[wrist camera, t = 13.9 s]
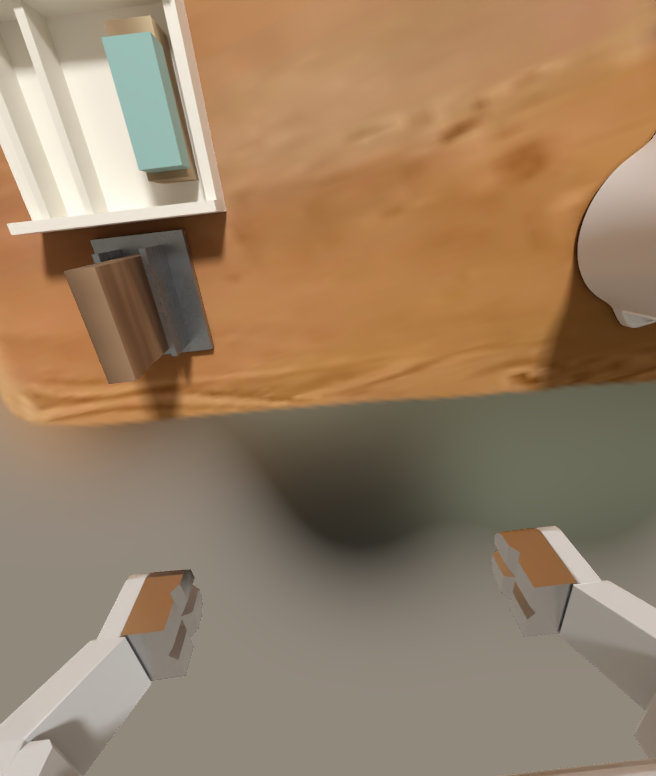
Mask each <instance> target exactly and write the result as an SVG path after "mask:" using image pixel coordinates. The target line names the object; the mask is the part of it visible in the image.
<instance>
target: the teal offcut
mask: <svg viewBox="0 0 656 776" xmlns="http://www.w3.org/2000/svg"><path fill="white" fill-rule="evenodd" d="M101 38H102V42H103V45H104V49H105V52H106V56H107V60H108V63H109V67H110V70H111V74H112V77H113V81H114V84H115V88H116V91H117V95H118V98H119V102H120V105H121V109H122V112H123V116H124V119H125V123H126V126H127V130H128V133H129V137H130V140H131V144H132V147H133V151H134V154H135V158H136V161H137V165H138V168H139V170H141V171H144V172H148V173H155V172H163V171H172V170H180V169H189V168H190V164H189V160H188V155H187V151H186V147H185V142H184V138H183V134H182V129H181V125H180V121H179V116H178V112H177V108H176V103H175V99H174V95H173V90H172V86H171V82H170V78H169V73H168V69H167V65H166V60H165V56H164V52H163V47H162V45H161V43H160V42H159V41H158V40H157V39H156V38H155V37H154V35H153V34H152V33H151V32H142V33H133V34H125V35H116V36H107V37H101Z"/></svg>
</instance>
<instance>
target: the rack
mask: <svg viewBox="0 0 656 776" xmlns="http://www.w3.org/2000/svg"><path fill="white" fill-rule="evenodd" d="M148 15H151V17H152V18H153V19H154V20H155V22H156V23H157V24H158V26H159V27H160V28H161V29H162V31H163V32H164V33H165V34H166V36H167V39H168V44H169V48H170V53H171V57H172V62H173V66H174V70H175V75H176V79H177V84H178V88H179V93H180V97H181V102H182V106H183V110H184V115H185V119H186V124H187V128H188V133H189V137H190V141H191V146H192V150H193V155H194V159H195V164H196V168H197V173H198V177H199V180H194V181H185V182H177V183H168V184H160V183H155V182H150V181H148V178H147V174H146V172H144V171H141V170H139V168H138V165H137V161H136V158H135V154H134V151H133V147H132V144H131V140H130V137H129V133H128V130H127V126H126V123H125V119H124V116H123V112H122V109H121V105H120V102H119V98H118V95H117V91H116V88H115V84H114V81H113V77H112V74H111V70H110V67H109V63H108V60H107V56H106V52H105V49H104V45H103V42H102V38H101V37H107V36H108V34H107V31H106V27H105V23H104V21H105V20H114V19H122V18H131V17H139V16H148ZM0 144H1V147H2V149H3V152H4V154H5V156H6V159H7V161H8V164H9V166H10V168H11V171H12V173H13V176H14V178H15V180H16V183H17V185H18V188H19V190H20V192H21V195H22V197H23V200H24V202H25V204H26V207H27V209H28V212H29V214H30V216H31V219H32V221H27V222H18V223H10V224H7V226H8V228H9V230H10V233H11V235H20V234H34V233H47V232H55V231H64V230H73V229H81V228H90V227H98V226H107V225H115V224H124V223H133V222H141V221H150V220H158V219H167V218H175V217H184V216H193V215H201V214H210V213H218V212H227V211H226V206H225V201H224V196H223V191H222V186H221V181H220V177H219V172H218V167H217V162H216V157H215V152H214V147H213V142H212V137H211V132H210V127H209V122H208V118H207V113H206V108H205V103H204V98H203V93H202V88H201V83H200V78H199V73H198V68H197V63H196V59H195V54H194V49H193V44H192V39H191V34H190V29H189V24H188V19H187V14H186V9H185V4H184V0H0Z"/></svg>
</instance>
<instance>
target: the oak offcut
mask: <svg viewBox="0 0 656 776" xmlns="http://www.w3.org/2000/svg"><path fill="white" fill-rule="evenodd" d="M104 23H105V27H106V31H107V34H108V36H116V35H125V34H133V33H142V32H151V33H152V34H153V35H154V37H155V38H156V39H157V40H158V41H159V42H160V43H161V45H162V47H163V52H164V56H165V60H166V65H167V69H168V73H169V78H170V82H171V86H172V90H173V95H174V99H175V103H176V108H177V112H178V116H179V121H180V125H181V129H182V134H183V138H184V142H185V147H186V151H187V155H188V160H189V164H190V168H189V169H180V170H172V171H163V172H155V173H148V172H146V174H147V178H148V181H150V182H155V183H160V184H168V183H177V182H185V181H194V180H199V177H198V173H197V168H196V164H195V159H194V155H193V150H192V146H191V141H190V137H189V133H188V128H187V124H186V119H185V115H184V110H183V106H182V102H181V97H180V93H179V88H178V84H177V79H176V75H175V70H174V66H173V62H172V57H171V53H170V48H169V44H168V39H167V36H166V34H165V33H164V32H163V31H162V29H161V28H160V27H159V26H158V24H157V23H156V22H155V20H154V19H153V18H152V17H151V15H148V16H139V17H131V18H122V19H114V20H105V21H104Z"/></svg>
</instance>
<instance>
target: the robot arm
mask: <svg viewBox="0 0 656 776" xmlns="http://www.w3.org/2000/svg"><path fill="white" fill-rule="evenodd" d="M578 264H579V269H580V272H581V275H582V278H583V280H584V282H585V284H586V285H587V287H588V288H589V289H590V290H591V292H593V293H594V294H595V295H596V296H597V297H599V298H600V299H602V300H603V301H605V302H606V303H608V304H609V305H610V306H611V307H612V309H613V311H614V313H615V315H616V317H617V319H618V321H619V322H620V324H621V325H623V326H626V327H631V328H637V327H641V326H645V325H648V324H651V323H655V322H656V134H655V135H654V136H653V138H652V139H651V140H650V141H649V142H648V143H647V144H646V145H645V146H644V147H643V148H641V149H640V150H639V151H637V152H636V153H635V154H633V155H632V156H631V157H630V158H628V159H627V160H626V161H625V162H624V163H622V164H621V165H620V166H619V167H618V168H617V169H616V170H615V171H614V172H613V173H612V174H611V175H610V177H609V178H608V179H607V180H606V181H605V183H604V184H603V185H602V187H601V188H600V189H599V191H598V192H597V194H596V196H595V197H594V199H593V201H592V202H591V204H590V206H589V208H588V210H587V213H586V215H585V218H584V220H583V223H582V227H581V230H580V235H579V240H578ZM494 544H495V546H496V548H497V550H496V551H495V553H493V555H492V569H493V574H494V577H495V580H496V583H497V585H498V587H499V589H500V591H501V593H502V594H504V595H505V596H506V597H508V598H509V599H510V600H511V607H510V611H511V613H512V614H513V617H514V618H515V620H516V622H517V624H518V626H519V628H520V630H521V632H522V634H523V636H524V637H525V636H537V635H548V634H559V636H560V637H561V638H563V639H564V640H565V641H566V642H567V643H568V644H569V645H570V646H572V647H573V648H574V649H575V650H576V651H577V652H578V653H580V654H581V655H582V656H583V657H584V658H585V659H586V660H588V661H589V662H590V663H591V664H592V665H593V666H595V667H596V668H597V669H598V670H599V671H600V672H601V673H603V674H604V675H605V676H606V677H607V678H608V679H609V680H611V681H612V682H613V683H614V684H615V685H617V686H618V687H619V688H620V689H621V690H622V691H623V692H624V693H626V694H627V695H628V696H629V697H630V698H631V699H632V700H634V701H635V702H636V703H637V704H638V705H639V706H640V707H642V708H643V709H644V710H645V712H644V714H643V716H642V718H641V719H640V721H639V723H638V725H637V727H636V731H635V735H634V736H635V737H636V739H637V741H638V742H639V744H640V746H641V747H642V749H643V750H644V752H645V753H646V755H647V757H648V759H640V760H631V761H623V762H614V763H605V764H596V765H588V766H580V767H570V768H562V769H553V770H544V771H536V772H527V773H518V774H510V775H501V776H656V608H654V607H653V606H651V605H649V604H648V603H646V602H644V601H642V600H641V599H639V598H637V597H636V596H634V595H632V594H630V593H629V592H627V591H625V590H624V589H622V588H620V587H618V586H617V585H615V584H613V583H612V582H610V581H602V580H601V579H600V578H599V577H598V576H597V574H596V573H595V572H594V571H593V569H592V568H591V567H590V566H589V564H588V563H587V562H586V561H585V559H584V558H583V557H582V556H581V555H580V553H579V552H578V551H577V550H576V548H575V547H574V546H573V545H572V544H571V542H570V541H569V540H568V539H567V537H566V536H565V535H564V534H563V532H562V531H561V530H560V529H559V528H557V527H556V526H548V527H540V528H528V529H521V530H513V531H505V532H498V533H497V534H496V535H495V538H494ZM193 581H194V575H193V573H192V571H191V570H190V569H189V570H178V571H165V572H154V573H144V574H135V575H131V576H130V577H129V578H128V579H127V581H126V582H125V584H124V586H123V588H122V590H121V592H120V594H119V596H118V598H117V600H116V602H115V604H114V606H113V608H112V610H111V612H110V614H109V616H108V618H107V620H106V622H105V624H104V626H103V628H102V630H101V632H100V634H99V636H98V638H97V640H92V641H90V642H88V643H87V644H86V645H85V646H84V647H83V648H82V649H81V650H80V651H79V652H78V653H77V654H76V655H74V656H73V657H72V658H71V659H70V660H69V661H68V662H67V663H66V664H65V665H64V666H63V667H62V668H61V669H59V670H58V672H56V673H55V674H54V675H53V676H52V677H51V678H50V679H49V680H48V681H47V682H46V683H44V684H43V685H42V686H41V687H40V688H39V689H38V690H37V691H36V692H35V693H34V694H33V695H32V696H31V697H29V698H28V699H27V700H26V701H25V702H24V703H23V704H22V705H21V706H20V707H19V708H18V709H17V710H15V711H14V712H13V713H12V714H11V715H10V716H9V717H8V718H7V719H6V720H5V721H4V722H3V723H2V724H0V776H84V774H85V773H86V772H87V770H88V769H89V768H90V766H91V765H92V764H93V762H94V761H95V760H96V758H97V757H98V755H99V754H100V753H101V751H102V750H103V749H104V747H105V746H106V745H107V743H108V742H109V741H110V739H111V738H112V736H113V735H114V734H115V732H116V731H117V729H118V728H119V727H120V726H121V724H122V723H123V722H124V720H125V719H126V717H127V716H128V715H129V713H130V712H131V711H132V709H133V708H134V707H135V705H136V704H137V702H138V701H139V700H140V698H141V697H142V696H143V694H144V693H145V692H146V690H147V689H148V687H149V686H150V685H151V681H154V680H161V679H168V678H175V677H182V676H186V674H187V670H188V667H189V663H190V659H191V655H192V651H193V648H194V646H193V643H192V641H191V636H192V635H193V634H194V633H195V632H196V631H197V629H198V628H199V625H200V621H201V617H202V605H203V603H202V596H201V593H200V590H199V589H198V588H197V587H195V586H194V585H193Z"/></svg>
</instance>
